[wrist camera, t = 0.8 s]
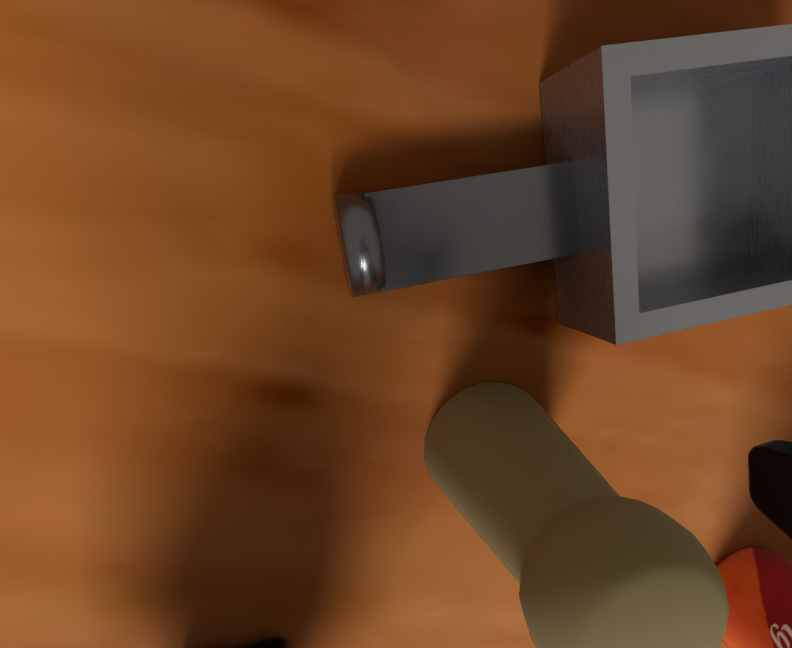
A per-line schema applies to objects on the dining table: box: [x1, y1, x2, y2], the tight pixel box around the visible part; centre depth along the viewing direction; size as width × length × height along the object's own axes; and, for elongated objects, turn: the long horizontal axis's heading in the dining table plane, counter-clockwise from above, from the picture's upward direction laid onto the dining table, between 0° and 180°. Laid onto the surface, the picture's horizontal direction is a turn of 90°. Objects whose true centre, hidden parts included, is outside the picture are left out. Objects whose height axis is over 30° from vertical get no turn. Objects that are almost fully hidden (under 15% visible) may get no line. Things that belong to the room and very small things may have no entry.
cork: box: [425, 382, 729, 648], centre depth 16 cm, size 6×6×11 cm
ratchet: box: [332, 24, 792, 345], centre depth 18 cm, size 10×19×5 cm, turn 99°
